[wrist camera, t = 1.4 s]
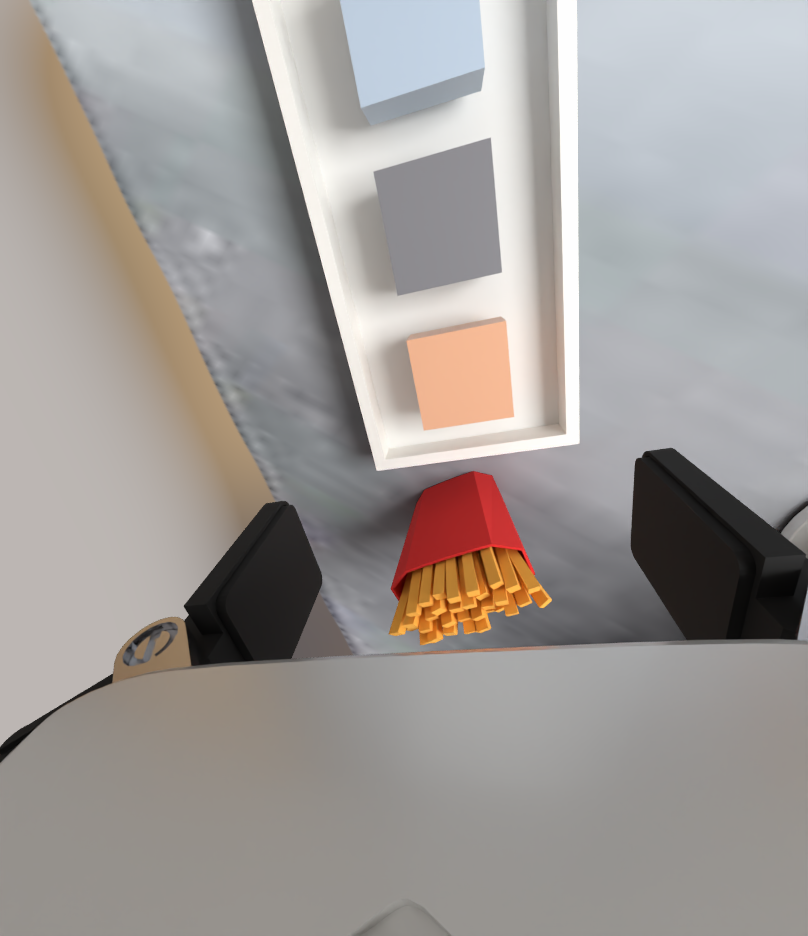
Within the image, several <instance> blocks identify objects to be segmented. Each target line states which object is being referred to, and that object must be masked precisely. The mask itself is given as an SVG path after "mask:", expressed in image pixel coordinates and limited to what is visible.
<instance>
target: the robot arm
mask: <svg viewBox="0 0 808 936" xmlns="http://www.w3.org/2000/svg"><path fill="white" fill-rule="evenodd" d="M631 550H632V553H633V556H634V558H635V560H636V561H637V563H638V564H639V566H640V568H641V569H642V571H643V572H644V574H645V575H646V577H647V578H648V580H649V582H650V583H651V585H652V586H653V588H654V589H655V591H656V593H657V594H658V596H659V597H660V599H661V600H662V602H663V603H664V605H665V607H666V608H667V610H668V611H669V613H670V614H671V616H672V618H673V619H674V621H675V622H676V624H677V625H678V627H679V628H680V630H681V632H682V633H683V635H684V636H685V638H686V639H687V640H683V641H660V642H628V643H605V644H582V645H559V646H537V647H514V648H492V649H472V650H451V651H430V652H411V653H391V654H371V655H353V656H335V657H317V658H299V659H291V658H292V656H293V653H294V651H295V648H296V646H297V644H298V641H299V639H300V636H301V634H302V631H303V629H304V626H305V624H306V622H307V619H308V617H309V614H310V612H311V609H312V607H313V604H314V602H315V600H316V597H317V595H318V593H319V590H320V588H321V585H322V574H321V571H320V569H319V566H318V564H317V561H316V559H315V556H314V554H313V551H312V549H311V546H310V544H309V541H308V539H307V536H306V534H305V531H304V529H303V526H302V524H301V521H300V519H299V517H298V514H297V512H296V509H295V507H294V506H293V505H289V504H288V503H287V502H286V501H280V502H273V503H266V504H265V505H264V506H263V507H262V509H261V510H260V511H259V512H258V514H257V515H256V516H255V517H254V518H253V520H252V521H251V522H250V523H249V525H248V526H247V527H246V528H245V530H244V531H243V532H242V534H241V535H240V536H239V537H238V539H237V540H236V541H235V542H234V544H233V545H232V546H231V547H230V549H229V550H228V551H227V552H226V554H225V555H224V556H223V557H222V559H221V560H220V561H219V562H218V564H217V565H216V566H215V568H214V569H213V570H212V571H211V572H210V574H209V575H208V576H207V578H206V579H205V580H204V581H203V583H202V584H201V585H200V586H199V587H198V589H197V590H196V591H195V593H194V594H193V595H192V596H191V598H190V599H189V600H188V601H187V603H186V604H185V605H184V608H185V609H186V611H187V612H188V614H189V616H188V617H187V618H186V619H185V621H184V620H183V619H181V618H178V617H168V618H164V619H160V620H158V621H156V622H154V623H151V624H149V625H148V626H146V627H145V628H143V629H141V630H140V631H139V632H138V633H136V634H135V635H134V636H132V637H131V638H130V639H129V640H128V641H127V642H126V643H125V644H124V646H122V648H121V649H120V651H119V653H118V654H117V656H116V659H115V663H114V671H113V674H111V675H110V676H108V677H106V678H105V679H103V680H102V681H100V682H98V683H97V684H95V685H93V686H92V687H90V688H88V689H87V690H85V691H83V692H82V693H80V694H78V695H77V696H75V697H73V698H72V699H70V700H68V701H67V702H65V703H63V704H62V705H60V706H58V707H57V708H55V709H54V710H52V711H50V712H49V713H47V714H45V715H44V716H42V717H40V718H39V719H37V720H35V721H34V722H32V723H31V724H29V725H27V726H25V727H23V728H21V729H20V730H18V731H17V732H15V733H14V734H13V735H12V736H11V737H9V738H8V739H7V740H6V741H5V742H4V743H3V744H2V745H1V747H0V936H808V506H806V507H805V508H804V509H803V510H802V511H801V512H799V513H798V514H797V515H796V516H795V517H794V518H793V519H792V520H791V521H790V522H789V523H788V524H787V526H786V527H785V528H784V529H783V531H782V532H781V534H780V533H779V532H778V531H776V530H775V529H774V528H773V527H771V526H770V525H769V524H768V523H766V522H765V521H764V520H763V519H761V518H760V517H759V516H758V515H756V514H755V513H754V512H753V511H751V510H750V509H749V508H748V507H746V506H745V505H744V504H743V503H741V502H740V501H739V500H738V499H736V498H735V497H734V496H733V495H731V494H730V493H729V492H727V491H726V490H725V489H724V488H722V487H721V486H720V485H719V484H717V483H716V482H715V481H714V480H712V479H711V478H710V477H709V476H707V475H706V474H705V473H704V472H702V471H701V470H700V469H699V468H697V467H696V466H695V465H694V464H692V463H691V462H690V461H689V460H687V459H686V458H685V457H684V456H682V455H681V454H680V453H679V452H677V451H676V450H675V449H673V448H667V449H660V450H653V451H646V452H644V454H643V456H642V458H637V459H636V461H635V472H634V491H633V510H632V528H631Z"/></svg>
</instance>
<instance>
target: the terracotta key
mask: <svg viewBox="0 0 808 936" xmlns="http://www.w3.org/2000/svg"><path fill="white" fill-rule="evenodd" d="M406 342H407V347H408V352H409V357H410V362H411V367H412V372H413V378H414V383H415V388H416V393H417V398H418V403H419V408H420V413H421V419H422V424H423V429H424V431H425V430H432V429H438V428H445V427H452V426H458V425H465V424H471V423H478V422H484V421H491V420H498V419H504V418H511V417H514V409H513V397H512V385H511V373H510V361H509V349H508V337H507V325H506V320H505V319H504V318H502V317H501V316H500V317H495V318H490V319H485V320H480V321H475V322H470V323H466V324H461V325H456V326H451V327H446V328H441V329H436V330H431V331H426V332H421V333H416V334H411V335H410V336H409V337H408V339H407V341H406Z"/></svg>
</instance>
